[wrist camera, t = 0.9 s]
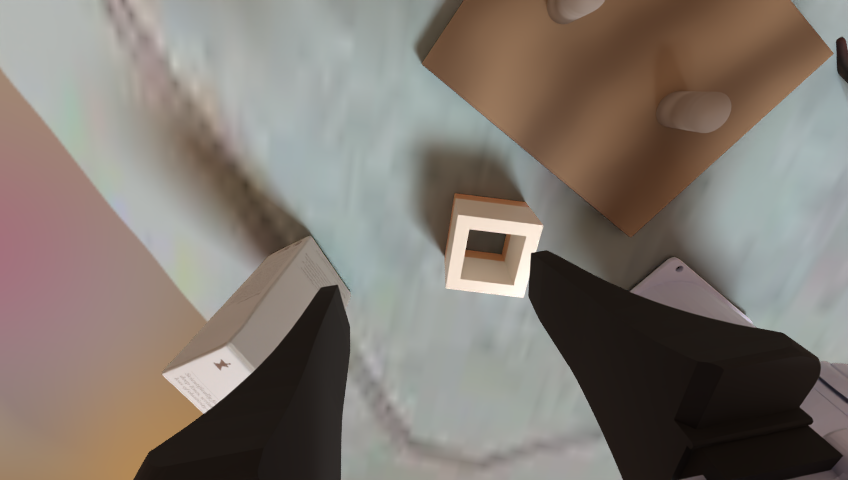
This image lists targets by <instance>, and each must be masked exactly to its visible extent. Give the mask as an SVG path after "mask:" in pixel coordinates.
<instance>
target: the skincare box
mask: <svg viewBox="0 0 848 480" xmlns="http://www.w3.org/2000/svg"><path fill="white" fill-rule="evenodd" d="M332 285H338V287H339V290H340V294H341V297H342V301H343V304H344V308H345V311H346V308H347V306H348V303H349V300H350V297H351V293H350V291H349V290H348V289H347V287H346V286H345V284H344V283H343V281H342V280H341V279H340V277H339V276H338V274H337V273H336V271H335V270H334V268H333V267H332V265H331V264H330V262H329V261H328V260H327V258H326V257H325V255H324V254H323V252H322V251H321V249H320V248H319V246H318V245H317V244H316V242H315V241H314V239H313V238H312V236H307V237H305V238H303V239H301V240H299V241H297V242H295V243H293V244H291V245H289V246H287V247H285V248H283V249H281V250H279V251H277V252H275V253H273V254H271V255H269V256H268V257H267V258H266V259H265V260H264V262H263V263H262V264H261V265H260V266H259V267H258V268H257V269H256V270H255V271H254V272H253V274H251V276H250V277H249V278H248V279H247V280H246V281H245V282H244V283H243V284H242V285H241V286H240V288H239V289H238V290H237V291H236V292H235V293H234V294H233V295H232V296H231V297H230V298H229V299H228V301H227V302H226V303H225V304H224V305H223V306H222V307H221V308H220V309H219V310H218V311H217V312H216V313H215V315H214V316H213V317H212V318H211V319H210V320H209V321H208V322H207V323H206V324H205V326H204V327H203V328H202V329H201V330H200V331H199V332H198V333H197V334H196V335H195V336H194V337H193V339H192V340H191V341H190V342H189V343H188V344H187V346H186V347H184V349H183V350H182V351H181V352H180V353H179V354H178V355H177V356H176V357H175V358H174V359H173V360H172V361H171V362H170V364H168V365H167V367H166V368H165V369H164V370H163V372H162V375H163V376H164V377H165V378H166V379H167V380H168V381H169V382H170V383H172V385H174V386H175V387H176V388H177V389H178V390H179V391H180V392H181V393H182V394H183V395H184V396H185V397H186V398H187V399H188V400H190V401H191V402H192V403H193V404H194V405H195V406H196V407H197V408H198V409H199V410H200V411H202V413H203V414H204V413H206V412H207V411H208V410H209V409H211V408H212V407H213V406H215V405H216V404H217V403H218V402H219V401H221V400H222V399H223V398H224V397H226V396H227V395H228V394H229V393H230V392H231V391H232V390H234V389H235V388H236V387H237V386H238V385H239V384H240V383H241V382H242V381H244V380H245V379H246V378H247V377H248V376H249V375H250V374H251V373H252V372H253V371H254V370H255V369H256V368H257V367H258V366H259V365H260V364H261V363H262V362H263V361H264V360H265V359H266V358H267V357H268V356H269V355H270V354H271V353H272V352H273V351H274V349H275V348H276V347H277V346H278V345H279V343H280V342H281V341H282V340H283V339H284V337H285V336H286V335H287V334H288V332H289V331H290V330H291V329H292V327H293V326H294V325H295V323H296V322H297V320H298V319H299V318H300V316H301V315H302V314H303V312H304V311H305V309H306V308H307V306H308V305H309V304H310V302H311V301H312V299H313V298H314V296H315V295H316V293H317V292H318V291H319V289H320V288H321V287H326V286H332Z"/></svg>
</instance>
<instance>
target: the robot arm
mask: <svg viewBox="0 0 848 480" xmlns="http://www.w3.org/2000/svg"><path fill="white" fill-rule="evenodd" d="M678 266H680V267H679V269H677V270H676V268H677V267H678ZM528 296H529V299H530V301H531V303H532V305H533V308H534V310H535V312H536V314H537V316H538V318H539V320H540V322H541V323H542V325H543V326H544V328H545V330H546V331H547V333H548V334H549V336H550V337H551V339H552V341H553V342H554V344H555V345H556V347H557V348H558V350H559V351H560V353H561V354H562V356H563V358H564V359H565V361H566V362H567V364H568V365H569V367H570V369H571V370H572V372H573V374H574V375H575V377H576V379H577V381H578V383H579V385H580V387H581V389H582V391H583V393H584V395H585V397H586V399H587V401H588V403H589V405H590V407H591V409H592V411H593V413H594V415H595V417H596V420H597V422H598V424H599V426H600V428H601V430H602V432H603V435H604V437H605V439H606V441H607V444H608V446H609V448H610V450H611V453H612V455H613V457H614V459H615V462H616V464H617V466H618V469H619V471H620V474H621V476H622V478H623V480H848V364H842V363H832V364H831V363H829V362H827V361H821V362H820V361H819V359H818V357H816V356H815V355H813V354H812V353H811V352H809V351H808V350H806V349H805V348H804V347H802V346H801V345H799V344H798V343H796V342H795V341H794V340H792V339H791V338H789V337H788V336H787V335H785V334H784V333H781V332H775V331H770V330H765V329H759V328H757V327H755V326H754V325H753V324H752V321H751V320H750V319H749V318H748V317H747V316H746V315H745V314H743V313H742V312H741V311H740V310H739V309H737V308H736V307H735V306H734V305H733V304H732V303H730V302H729V301H728V300H727V299H726V298H725V297H723V296H722V295H721V294H720V293H719V292H717V291H716V290H715V289H714V288H713V287H712V286H710V285H709V284H708V283H707V282H706V281H705V280H703V279H702V278H701V277H700V276H699V275H698V274H696V273H695V272H694V271H693V270H692V269H690V268H689V267H688V266H687V265H686V264H685V263H683V262H682V261H681V260H680V259H678V258H676V257H672V258H669V259H668V260H667V261H665V262H664V263H663V264H662V265H661V266H659V267H658V268H657V269H656V270H655V271H653V272H652V273H651V274H650V275H649V276H647V277H646V278H645V279H644V280H643V281H642V282H640V283H639V284H638V285H637V286H636V287H634V288H633V289H632V290H631V291H630V292H629V291H627V290H624V289H622V288H620V287H618V286H616V285H613V284H611V283H609V282H607V281H605V280H603V279H601V278H599V277H597V276H595V275H593V274H591V273H589V272H587V271H585V270H583V269H581V268H579V267H578V266H576V265H574V264H572V263H570V262H568V261H567V260H565V259H563V258H561V257H559V256H557V255H555V254H553V253H551V252H549V251H547V250H546V251H540V252H534V253H531V259H530V277H529V294H528ZM349 356H350V325H349V322H348V318H347V315H346V311H345V308H344V304H343V301H342V297H341V294H340V290H339V287H338V285H332V286H326V287H321V288H320V289H319V291H318V292H317V293H316V295H315V296H314V298H313V299H312V301H311V302H310V304H309V305H308V306H307V308H306V309H305V311H304V312H303V314H302V315H301V316H300V318H299V319H298V320H297V322H296V323H295V325H294V326H293V327H292V329H291V330H290V331H289V332H288V334H287V335H286V336H285V337H284V339H283V340H282V341H281V342H280V343H279V345H278V346H277V347H276V348H275V349H274V351H273V352H272V353H271V354H270V355H269V356H268V357H267V358H266V359H265V360H264V361H263V362H262V363H261V364H260V365H259V366H258V367H257V368H256V369H255V370H254V371H253V372H252V373H251V374H250V375H249V376H248V377H247V378H246V379H245V380H244V381H242V382H241V383H240V384H239V385H238V386H237V387H236V388H235V389H234V390H232V391H231V392H230V393H229V394H228V395H227V396H226V397H224V398H223V399H222V400H221V401H219V402H218V403H217V404H216V405H215V406H213V407H212V408H211V409H209V410H208V411H207V412H206V413H204V414H203V415H202V416H200V417H199V418H198V419H196V420H195V421H194V422H192V423H191V424H190V425H188V426H187V427H185V428H184V429H183V430H181V431H180V432H178V433H177V434H175V435H174V436H172V437H171V438H169V439H168V440H166V441H165V442H164V443H162V444H161V445H159V446H158V447H156V448H155V449H153V450H151V451H150V452H149V453H148V455H147V457H146V458H145V460H144V462H143V464H142V465H141V467H140V469H139V470H138V472H137V474H136V476H135V478H134V480H341V432H342V414H343V404H344V396H345V389H346V381H347V373H348V365H349Z"/></svg>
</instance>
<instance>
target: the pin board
mask: <svg viewBox="0 0 848 480" xmlns="http://www.w3.org/2000/svg"><path fill="white" fill-rule="evenodd" d="M833 54H834V53H833V52H832V51H831V50H830V48H829V47H828V46H827V45H826V43H825V42H824V41H823V40H822V39H821V37H820V36H819V35H818V34H817V32H816V31H815V30H814V29H813V28H812V26H811V25H810V24H809V23H808V21H807V20H806V19H805V18H804V16H803V15H802V14H801V13H800V12H799V10H798V9H797V8H796V7H795V5H794V4H793V3H792V2H791V1H790V0H464V1H463V2H462V4H461V5H460V7H459V8H458V10H457V11H456V13H455V14H454V16H453V17H452V19H451V20H450V22H449V23H448V25H447V26H446V28H445V29H444V31H443V32H442V34H441V35H440V37H439V38H438V40H437V41H436V43H435V44H434V46H433V47H432V49H431V50H430V52H429V53H428V55H427V56H426V58H425V59H424V61H423V62H422V65H423V66H425V67H426V68H427V69H428V70H429V71H431V72H432V73H433V74H434V75H435V76H437V77H438V78H439V79H440V80H441V81H443V82H444V83H445V84H446V85H447V86H449V87H450V88H451V89H452V90H453V91H455V92H456V93H457V94H458V95H459V96H461V97H462V98H463V99H464V100H465V101H467V102H468V103H469V104H470V105H471V106H473V107H474V108H475V109H476V110H477V111H479V112H480V113H481V114H482V115H483V116H485V117H486V118H487V119H488V120H489V121H491V122H492V123H493V124H494V125H495V126H497V127H498V128H499V129H500V130H501V131H503V132H504V133H505V134H506V135H507V136H509V137H510V138H511V139H512V140H513V141H515V142H516V143H517V144H518V145H519V146H521V147H522V148H523V149H524V150H525V151H527V152H528V153H529V154H530V155H531V156H533V157H534V158H535V159H536V160H537V161H539V162H540V163H541V164H542V165H543V166H545V167H546V168H547V169H548V170H549V171H551V172H552V173H553V174H554V175H556V176H557V177H558V178H559V179H560V180H562V181H563V182H564V183H565V184H566V185H568V186H569V187H570V188H571V189H572V190H574V191H575V192H576V193H577V194H578V195H580V196H581V197H582V198H583V199H584V200H586V201H587V202H588V203H589V204H590V205H592V206H593V207H594V208H595V209H596V210H598V211H599V212H600V213H601V214H602V215H604V216H605V217H606V218H607V219H608V220H610V221H611V222H612V223H613V224H614V225H616V226H617V227H618V228H619V229H620V230H622V231H623V232H624V233H625V234H627V235H628V236H629V237H630V238H631V237H632V236H633V235H634V234H635V233H636V232H637V231H639V230H640V229H641V228H642V227H643V226H644V225H645V224H646V223H647V222H649V221H650V220H651V219H652V218H653V217H654V216H655V215H656V214H657V213H658V212H660V211H661V210H662V209H663V208H664V207H665V206H666V205H667V204H668V203H669V202H671V201H672V200H673V199H674V198H675V197H676V196H677V195H678V194H679V193H681V192H682V191H683V190H684V189H685V188H686V187H687V186H688V185H689V184H690V183H692V182H693V181H694V180H695V179H696V178H697V177H698V176H699V175H700V174H701V173H703V172H704V171H705V170H706V169H707V168H708V167H709V166H710V165H711V164H712V163H714V162H715V161H716V160H717V159H718V158H719V157H720V156H721V155H722V154H724V153H725V152H726V151H727V150H728V149H729V148H730V147H731V146H732V145H733V144H735V143H736V142H737V141H738V140H739V139H740V138H741V137H742V136H743V135H744V134H746V133H747V132H748V131H749V130H750V129H751V128H752V127H753V126H754V125H755V124H757V123H758V122H759V121H760V120H761V119H762V118H763V117H764V116H765V115H767V114H768V113H769V112H770V111H771V110H772V109H773V108H774V107H775V106H776V105H778V104H779V103H780V102H781V101H782V100H783V99H784V98H785V97H786V96H787V95H789V94H790V93H791V92H792V91H793V90H794V89H795V88H796V87H797V86H799V85H800V84H801V83H802V82H803V81H804V80H805V79H806V78H807V77H808V76H810V75H811V74H812V73H813V72H814V71H815V70H816V69H817V68H818V67H819V66H821V65H822V64H823V63H824V62H825V61H826V60H827V59H828V58H829V57H830V56H832V55H833Z"/></svg>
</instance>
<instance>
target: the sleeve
mask: <svg viewBox="0 0 848 480" xmlns="http://www.w3.org/2000/svg"><path fill="white" fill-rule="evenodd" d="M542 228H543V224H542V223H541V222H540V220H539V219H538V218H537V216H536V215H535V214H534V213H533V211H532V210H531V209H530V207H529V206H528V205H527V203H526V202H521V201H513V200H505V199H497V198H489V197H481V196H473V195H465V194H457V193H455V194H454V200H453V207H452V213H451V219H450V225H449V232H448V238H447V244H446V251H445V283H446V288H447V289H455V290H464V291H472V292H480V293H488V294H497V295H505V296H513V297H521V298H523V297H524V293H525V290H526V286H527V283H528V279H529V275H530V259H531V253H534V252H536V250H537V246H538V243H539V239H540V236H541V232H542ZM469 229H472V230H480V231H488V232H496V233H504V234H506V238H505V242H504V246H503V251H502V254H496V253H488V252H480V251H472V250H466V245H467V239H468V234H469Z"/></svg>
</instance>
